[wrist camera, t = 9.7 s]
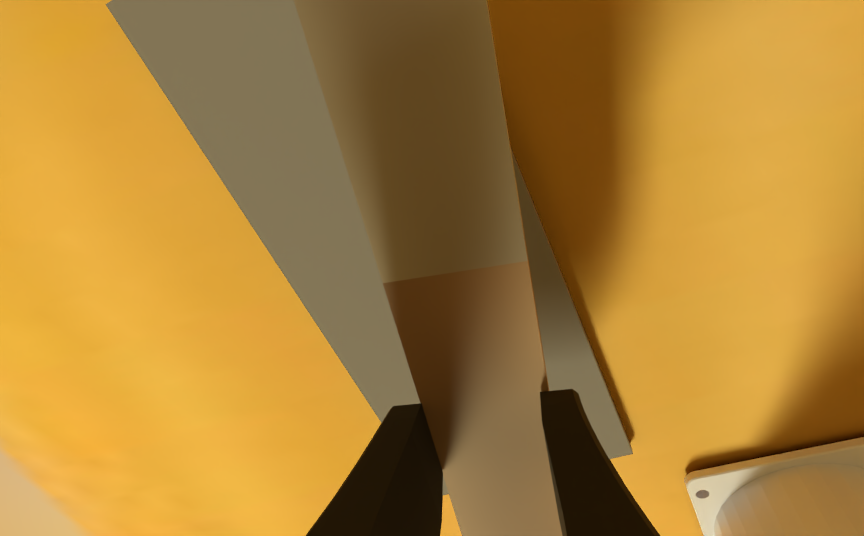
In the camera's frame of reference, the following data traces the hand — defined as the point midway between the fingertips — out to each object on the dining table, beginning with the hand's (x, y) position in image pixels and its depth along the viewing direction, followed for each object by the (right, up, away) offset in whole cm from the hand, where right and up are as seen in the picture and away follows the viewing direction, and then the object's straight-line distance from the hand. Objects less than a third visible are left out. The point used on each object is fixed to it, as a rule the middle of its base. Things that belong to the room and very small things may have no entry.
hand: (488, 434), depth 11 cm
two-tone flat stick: (0, +3, +3) cm, 4 cm away
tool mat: (-2, +4, +8) cm, 9 cm away
